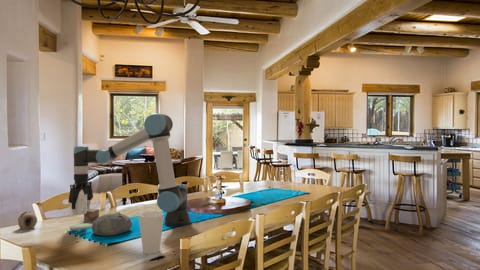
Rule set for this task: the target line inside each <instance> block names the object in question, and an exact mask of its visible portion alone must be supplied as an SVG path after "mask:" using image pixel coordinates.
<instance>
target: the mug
mask: <svg viewBox="0 0 480 270" xmlns="http://www.w3.org/2000/svg"><path fill="white" fill-rule="evenodd" d="M76 203H77V215H76V216H79V215H84V214H85V213H87V194H86V195H85V194H84V192H79V195H78V198H77V201H76ZM70 213H71V215H72V203H70Z"/></svg>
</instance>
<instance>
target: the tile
mask: <svg viewBox="0 0 480 270" xmlns="http://www.w3.org/2000/svg"><path fill="white" fill-rule="evenodd" d="M78 222H81V223H88V224H93V222H94V221H84V218H83V219H80V220H78Z"/></svg>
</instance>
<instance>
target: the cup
mask: <svg viewBox="0 0 480 270" xmlns="http://www.w3.org/2000/svg"><path fill="white" fill-rule="evenodd" d="M164 219H165V213H164V212H163V211H162V212H161V211H157V210H156V211H143V212H142V213H139V214H138V222H139V229H140V230H139V231H140V239H141V247H142V253H144V254H146V255H151V254H154V255H155V254H157V253H159V252H160V251H161V241H162V234H163V226H164V225H163V224H164Z"/></svg>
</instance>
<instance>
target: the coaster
mask: <svg viewBox="0 0 480 270" xmlns="http://www.w3.org/2000/svg"><path fill="white" fill-rule="evenodd" d="M92 224H93V223H87V222H83V223H76V224H74V225H71V226H70V227H69V229H70V230H73V231H81V230H82V231H83V230H87V229H92Z"/></svg>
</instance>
